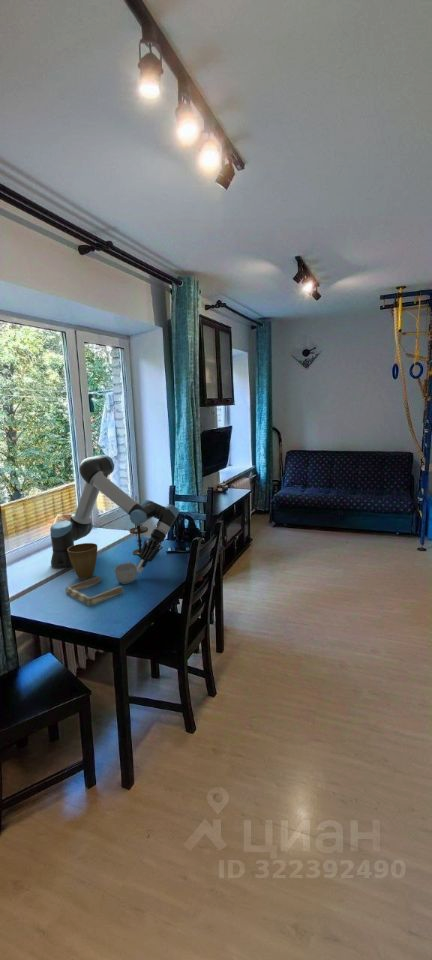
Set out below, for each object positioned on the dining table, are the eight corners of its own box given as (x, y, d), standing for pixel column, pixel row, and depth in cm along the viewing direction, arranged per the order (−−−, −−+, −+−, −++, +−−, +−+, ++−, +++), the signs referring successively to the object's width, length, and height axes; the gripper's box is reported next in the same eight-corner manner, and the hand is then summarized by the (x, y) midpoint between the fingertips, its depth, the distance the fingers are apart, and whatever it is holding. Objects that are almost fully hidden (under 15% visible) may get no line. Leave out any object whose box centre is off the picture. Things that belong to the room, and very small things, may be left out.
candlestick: (148, 555, 261) (143, 496, 255) (129, 556, 261) (124, 497, 255) (151, 549, 272) (146, 492, 265) (133, 550, 272) (128, 493, 265)
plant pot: (106, 575, 234) (103, 546, 231) (80, 584, 224) (77, 554, 221) (90, 569, 244) (87, 540, 241) (65, 577, 234) (61, 548, 231)
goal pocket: (66, 593, 214) (65, 587, 214) (98, 581, 226) (98, 576, 226) (90, 605, 200) (89, 599, 199) (122, 592, 212) (122, 586, 212)
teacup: (132, 586, 219) (131, 570, 217) (111, 585, 221) (110, 570, 220) (142, 575, 232) (141, 560, 231) (123, 574, 234) (121, 559, 233)
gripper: (172, 537, 235) (150, 578, 226) (156, 533, 244) (134, 572, 235) (164, 530, 230) (141, 571, 221) (147, 526, 239) (125, 566, 230)
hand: (137, 572), depth 228 cm, fingers closed
